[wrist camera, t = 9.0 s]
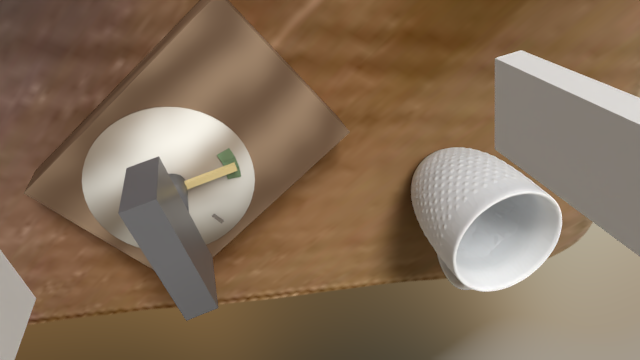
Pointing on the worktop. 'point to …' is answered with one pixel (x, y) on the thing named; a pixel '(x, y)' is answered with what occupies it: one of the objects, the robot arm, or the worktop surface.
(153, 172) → the peg knob
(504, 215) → the mug
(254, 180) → the tuner board
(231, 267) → the worktop surface
